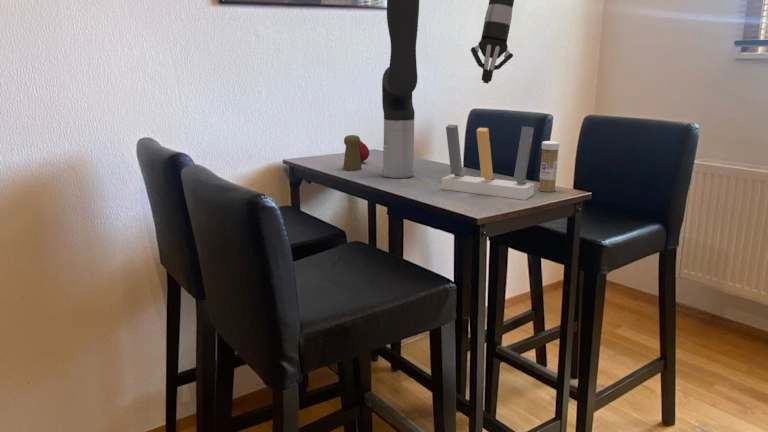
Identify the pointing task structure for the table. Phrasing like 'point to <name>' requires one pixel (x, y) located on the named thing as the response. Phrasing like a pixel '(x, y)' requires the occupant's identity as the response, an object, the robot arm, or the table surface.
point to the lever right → (523, 154)
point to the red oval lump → (363, 151)
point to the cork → (352, 153)
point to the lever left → (454, 149)
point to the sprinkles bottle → (548, 166)
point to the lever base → (488, 186)
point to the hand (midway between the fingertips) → (485, 82)
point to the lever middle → (484, 153)
